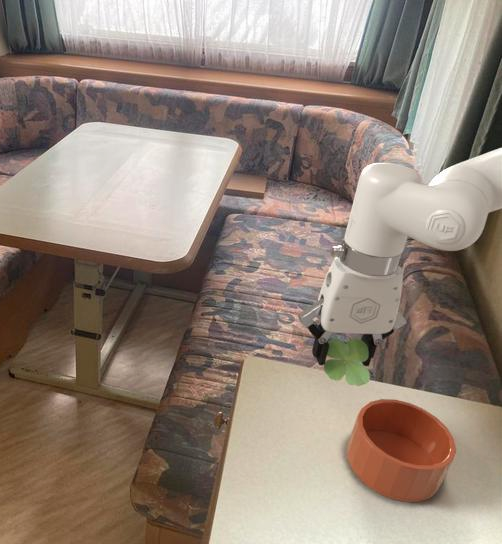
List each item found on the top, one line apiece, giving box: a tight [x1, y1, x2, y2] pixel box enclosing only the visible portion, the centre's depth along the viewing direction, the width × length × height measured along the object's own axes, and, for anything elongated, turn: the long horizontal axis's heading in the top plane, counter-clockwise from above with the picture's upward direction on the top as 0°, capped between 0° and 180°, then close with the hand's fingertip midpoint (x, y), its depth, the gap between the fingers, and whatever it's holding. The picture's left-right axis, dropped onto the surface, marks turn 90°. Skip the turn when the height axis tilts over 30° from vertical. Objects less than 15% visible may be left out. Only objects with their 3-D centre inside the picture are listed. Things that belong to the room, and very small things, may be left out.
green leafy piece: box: [323, 337, 371, 387], centre depth 88 cm, size 7×8×7 cm
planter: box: [346, 398, 457, 503], centre depth 86 cm, size 13×13×7 cm
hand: (341, 358), depth 87 cm, fingers closed on green leafy piece, 6 cm apart
